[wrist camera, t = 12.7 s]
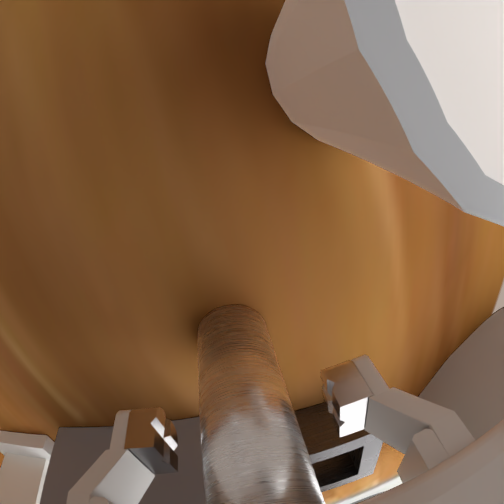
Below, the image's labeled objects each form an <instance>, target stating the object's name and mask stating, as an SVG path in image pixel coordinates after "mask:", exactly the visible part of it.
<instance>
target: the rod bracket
mask: <svg viewBox="0 0 504 504" xmlns="http://www.w3.org/2000/svg"><path fill="white" fill-rule="evenodd" d="M295 415H296V418H297V421H298V424H299V427H300V430H301V433H302V436H303V439H304V442H305V445H306V448H307V451H308V454H309V457H310V460H311V463H312V466H313V469H314V472H315V475H316V478H317V481H318V484H319V487H320V490H321V492H323V491H326V490H330V489H333V488H336V487H339V486H342V485H344V484H347V483H350V482H353V481H355V480H358V479H361V478H363V477H366V476H368V475H371V474H373V472H374V469H375V466H376V463H377V460H378V457H379V453H380V450H381V447H382V444H383V441H381V440H380V439H378V438H377V437H375V436H373V435H372V434H370V433H368V432H367V431H365V429H363V430H360V431H357V432H355V433H352V434H349V435H346V436H343V437H339V435H338V433H337V431H336V428H335V426H334V424H333V414H332V413H330V412H328V410H327V407H326V405H325V403H322V404H319V405H315V406H312V407H309V408H306V409H302V410H299V411H295Z"/></svg>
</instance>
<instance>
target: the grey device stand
mask: <svg viewBox="0 0 504 504" xmlns="http://www.w3.org/2000/svg"><path fill="white" fill-rule="evenodd" d="M172 423H173V424H174V426H175V429H176V432H177V436H178V446H177V447H176V448H175V450H174V452H175V453H176V454H177V456H178V472H176V473H165V474H154V475H155V477H154V478H153V480H152V482H151V483H150V485H149V487H148V488H147V490H146V492H145V493H144V495H143V497H142V498H141V500H140V502H139V503H138V504H206V503H205V491H204V479H203V466H202V451H201V434H200V417H195V418H189V419H182V420H175V421H172ZM113 427H114V426H111V427H59V430H58V433H57V436H56V440H55V443H54V446H53V450H52V454H51V457H50V461H49V465H48V469H47V473H46V477H45V481H44V485H43V490H42V495H41V499H40V504H66V502H67V496H68V492H69V491H70V489H71V488H72V487H73V486H74V485H75V484H76V483H77V482H78V481H79V479H80V478H81V477H82V476H83V475H84V474H85V473H86V472H87V471H88V469H89V468H90V467H91V466H92V465H93V464H94V463H95V461H96V460H97V459H98V458H99V457H100V456H101V455H102V454H103V452H104V451H105V450H109V449H110V443H111V438H112V432H113Z"/></svg>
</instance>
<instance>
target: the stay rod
mask: <svg viewBox="0 0 504 504" xmlns="http://www.w3.org/2000/svg"><path fill="white" fill-rule="evenodd" d="M198 384H199V412H200V434H201V451H202V466H203V479H204V491H205V503H206V504H325V502H324V499H323V496H322V493H321V490H320V487H319V484H318V481H317V478H316V475H315V472H314V469H313V466H312V463H311V460H310V457H309V454H308V451H307V448H306V445H305V442H304V439H303V436H302V433H301V430H300V427H299V424H298V421H297V418H296V415H295V412H294V409H293V406H292V403H291V400H290V397H289V394H288V391H287V388H286V385H285V382H284V379H283V376H282V372H281V369H280V366H279V363H278V360H277V357H276V354H275V351H274V348H273V345H272V342H271V339H270V336H269V332H268V329H267V326H266V323H265V321H264V319H263V317H262V316H261V315H260V314H259V313H258V312H257V311H255V310H254V309H252V308H249V307H247V306H243V305H226V306H222V307H219V308H216V309H214V310H213V311H211V312H209V313H208V314H207V315H206V316H205V317H204V318H203V319H202V321H201V323H200V325H199V327H198Z"/></svg>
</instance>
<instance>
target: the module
mask: <svg viewBox="0 0 504 504" xmlns="http://www.w3.org/2000/svg"><path fill="white" fill-rule="evenodd" d="M48 465H49V461H48V460H47V459H43V458H36V457H29V456H23V455H18V454H12V453H7V452H6V453H5V456H4V459H3V462H2V465H1V468H0V504H40V499H41V495H42V490H43V485H44V481H45V477H46V473H47V469H48Z"/></svg>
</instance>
